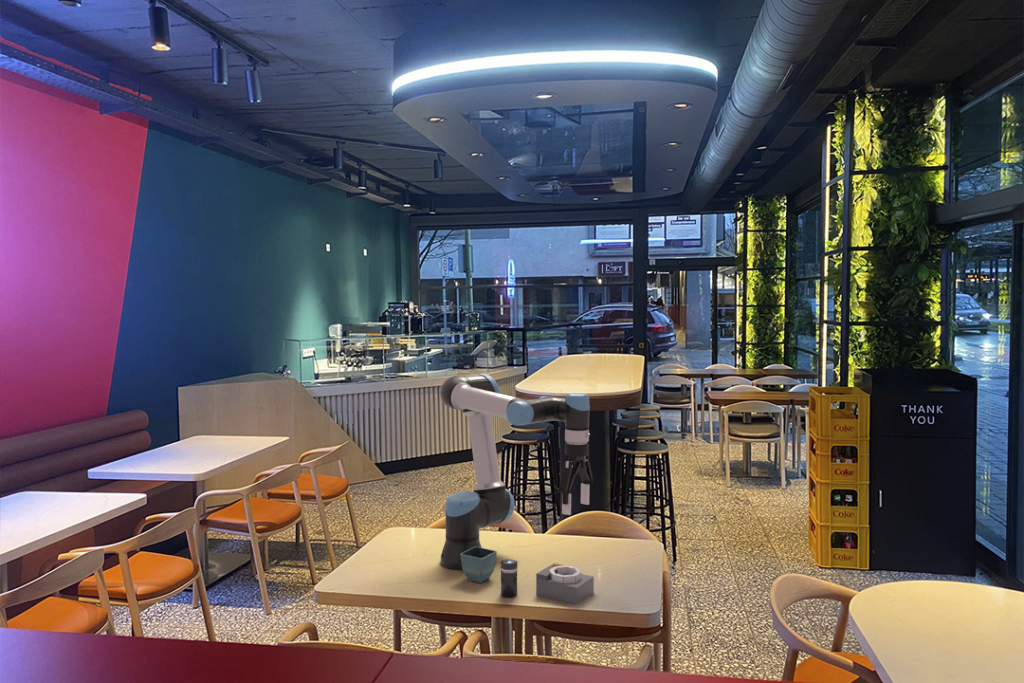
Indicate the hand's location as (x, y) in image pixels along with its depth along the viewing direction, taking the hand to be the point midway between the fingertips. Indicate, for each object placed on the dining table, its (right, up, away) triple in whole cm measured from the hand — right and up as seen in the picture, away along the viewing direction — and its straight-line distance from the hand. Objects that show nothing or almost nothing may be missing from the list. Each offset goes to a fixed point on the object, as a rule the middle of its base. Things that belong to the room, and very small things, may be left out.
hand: (575, 509), depth 225 cm
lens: (-21, -24, -8) cm, 33 cm away
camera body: (-4, -24, -7) cm, 26 cm away
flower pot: (-31, -24, +4) cm, 39 cm away
